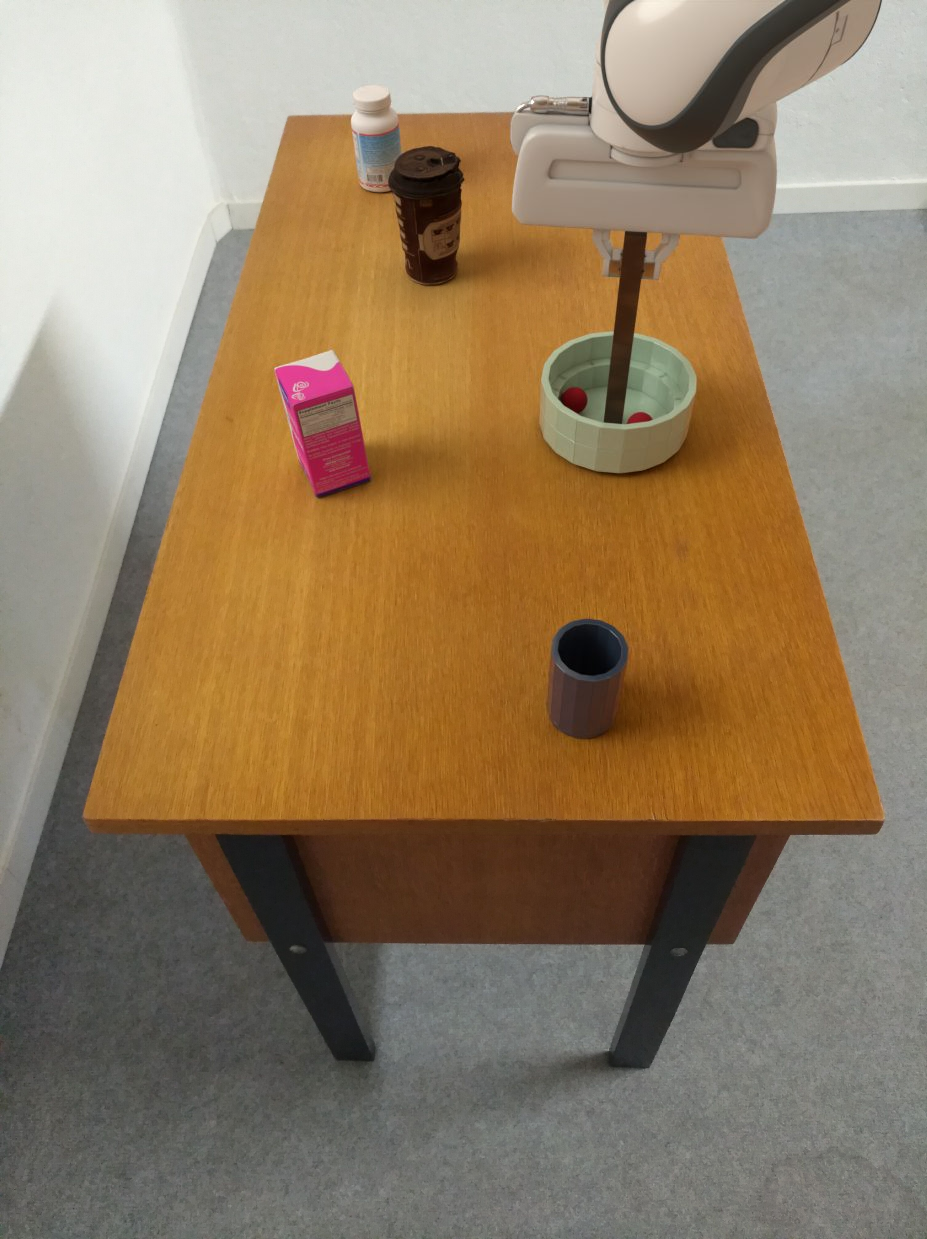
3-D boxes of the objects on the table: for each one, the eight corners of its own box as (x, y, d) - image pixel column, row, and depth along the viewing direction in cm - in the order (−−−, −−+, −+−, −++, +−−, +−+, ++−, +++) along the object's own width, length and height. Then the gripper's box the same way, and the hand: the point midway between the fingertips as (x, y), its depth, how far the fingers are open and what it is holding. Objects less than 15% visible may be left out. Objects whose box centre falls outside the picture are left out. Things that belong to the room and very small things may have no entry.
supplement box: (296, 462, 87) (272, 365, 78) (353, 444, 88) (336, 346, 79) (314, 500, 84) (291, 403, 75) (373, 481, 85) (357, 384, 76)
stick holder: (619, 683, 71) (630, 623, 64) (614, 743, 67) (625, 685, 61) (551, 675, 71) (555, 614, 65) (543, 733, 68) (547, 675, 62)
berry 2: (646, 442, 87) (661, 420, 86) (640, 446, 85) (656, 424, 84) (624, 427, 88) (639, 404, 86) (618, 431, 86) (634, 408, 84)
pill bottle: (413, 179, 120) (406, 89, 111) (383, 198, 117) (373, 108, 108) (379, 167, 122) (369, 77, 113) (349, 185, 119) (337, 96, 111)
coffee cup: (483, 264, 107) (480, 153, 97) (445, 299, 103) (438, 187, 93) (422, 245, 110) (414, 135, 100) (383, 278, 106) (370, 168, 96)
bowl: (687, 386, 92) (697, 337, 87) (684, 484, 84) (695, 435, 79) (548, 375, 94) (551, 326, 89) (531, 470, 85) (533, 421, 81)
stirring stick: (622, 417, 89) (648, 224, 73) (621, 429, 88) (647, 236, 72) (604, 415, 89) (625, 223, 73) (602, 427, 88) (624, 235, 72)
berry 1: (552, 406, 89) (570, 411, 91) (568, 414, 87) (586, 419, 89) (562, 380, 88) (580, 387, 90) (578, 388, 86) (596, 394, 88)
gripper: (504, 114, 64) (503, 287, 75) (799, 127, 61) (753, 304, 72) (516, 76, 68) (514, 246, 79) (794, 87, 65) (752, 261, 76)
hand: (630, 274), depth 76 cm, fingers closed
